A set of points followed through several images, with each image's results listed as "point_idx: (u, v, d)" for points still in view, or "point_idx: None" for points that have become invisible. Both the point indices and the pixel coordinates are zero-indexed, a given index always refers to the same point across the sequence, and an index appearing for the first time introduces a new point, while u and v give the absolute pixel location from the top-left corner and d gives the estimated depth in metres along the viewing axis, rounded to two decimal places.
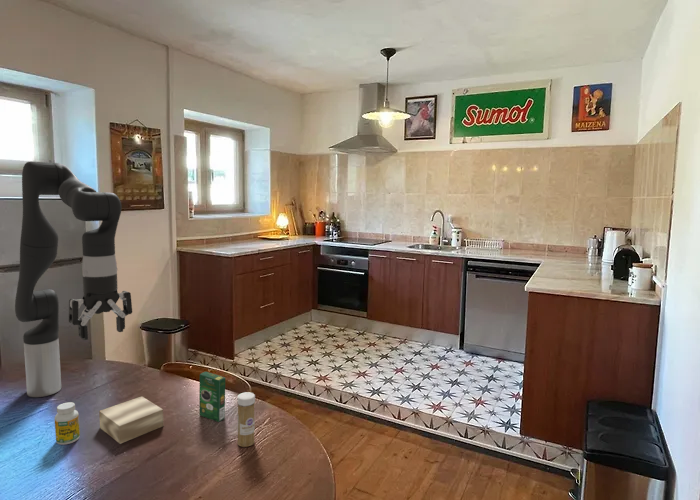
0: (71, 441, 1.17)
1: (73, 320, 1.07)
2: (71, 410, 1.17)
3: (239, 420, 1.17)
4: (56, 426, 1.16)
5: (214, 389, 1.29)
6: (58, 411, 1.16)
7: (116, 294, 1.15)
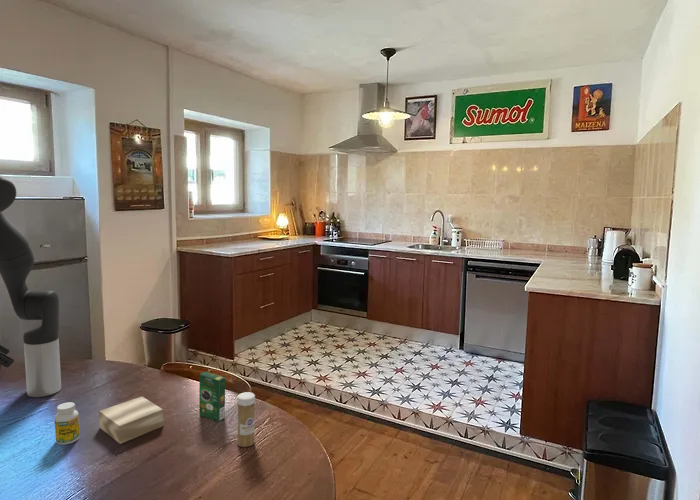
0: (71, 441, 1.17)
1: None
2: (71, 410, 1.17)
3: (239, 420, 1.17)
4: (56, 426, 1.16)
5: (214, 389, 1.29)
6: (58, 411, 1.16)
7: None
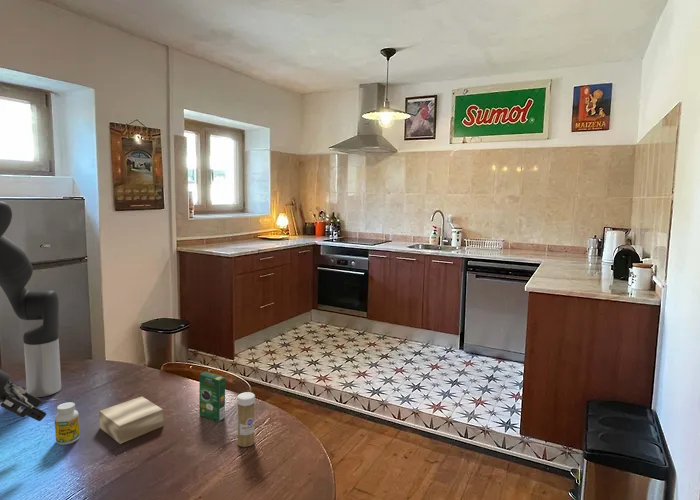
0: (71, 441, 1.17)
1: None
2: (71, 410, 1.17)
3: (239, 420, 1.17)
4: (56, 426, 1.16)
5: (214, 389, 1.29)
6: (58, 411, 1.16)
7: None
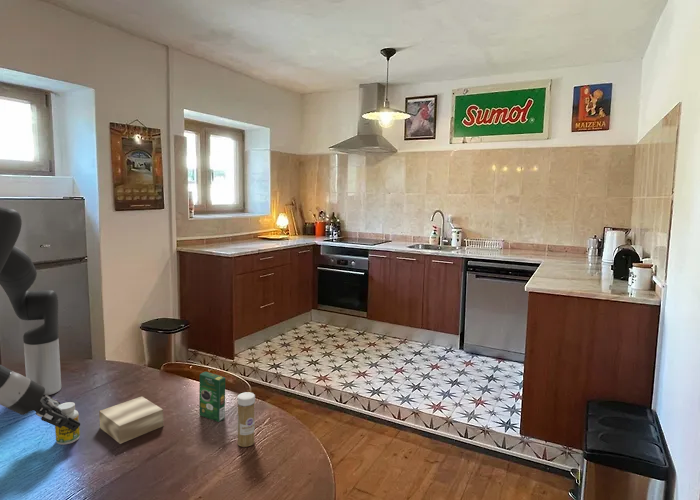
0: (71, 441, 1.17)
1: None
2: (71, 410, 1.17)
3: (239, 420, 1.17)
4: (56, 426, 1.16)
5: (214, 389, 1.29)
6: None
7: (37, 412, 1.10)
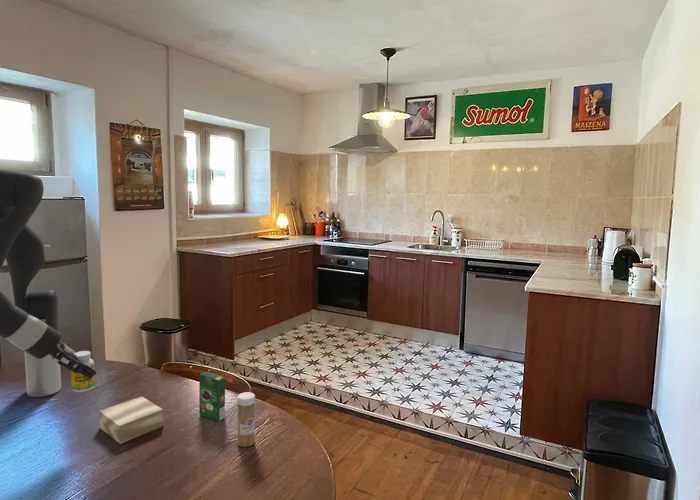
0: (86, 389, 1.17)
1: None
2: (87, 358, 1.17)
3: (239, 420, 1.17)
4: (72, 373, 1.16)
5: (214, 389, 1.29)
6: None
7: (53, 357, 1.10)
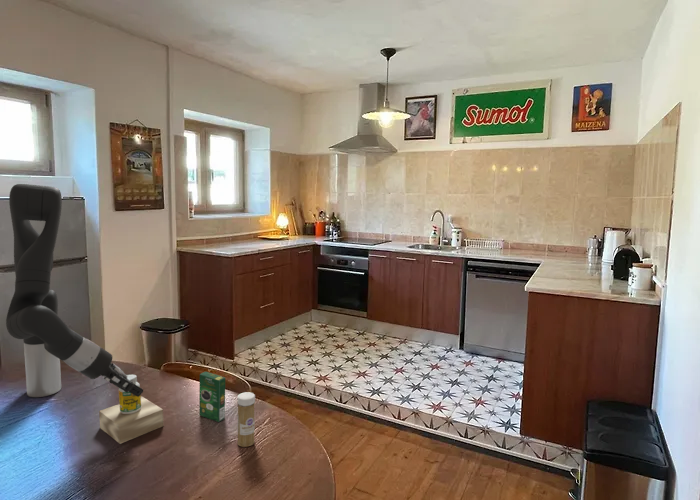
0: (134, 411, 1.23)
1: None
2: (134, 381, 1.23)
3: (239, 420, 1.17)
4: (120, 396, 1.22)
5: (214, 389, 1.29)
6: None
7: (106, 376, 1.17)
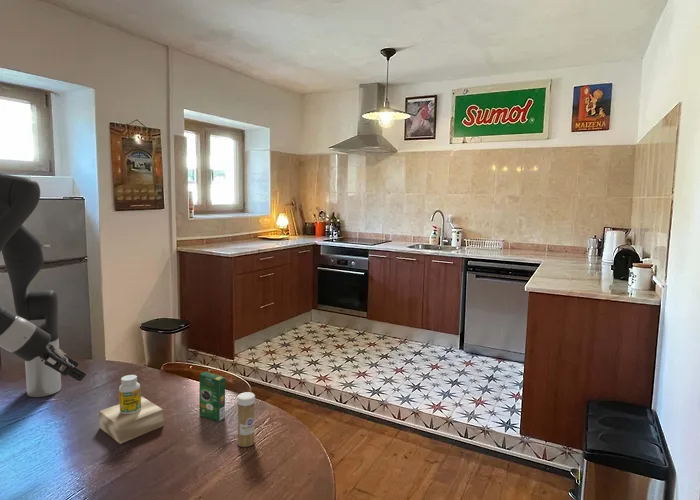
0: (134, 411, 1.23)
1: None
2: (134, 381, 1.23)
3: (239, 420, 1.17)
4: (121, 396, 1.22)
5: (214, 389, 1.29)
6: (122, 382, 1.22)
7: (42, 358, 1.07)
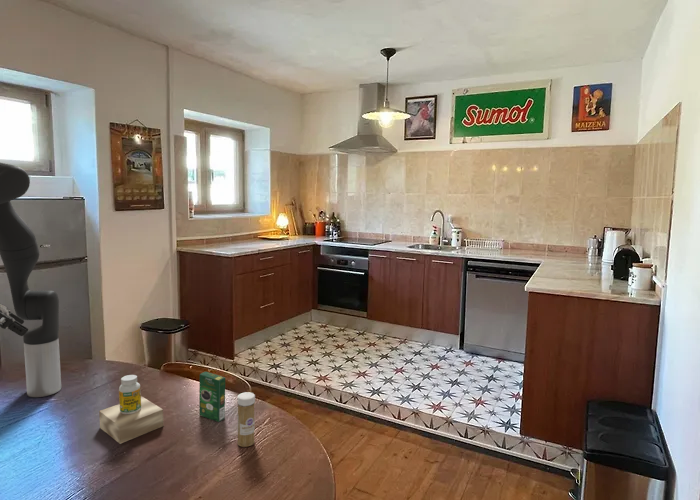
0: (134, 411, 1.23)
1: None
2: (134, 381, 1.23)
3: (239, 420, 1.17)
4: (121, 397, 1.22)
5: (214, 389, 1.29)
6: (123, 382, 1.22)
7: None
